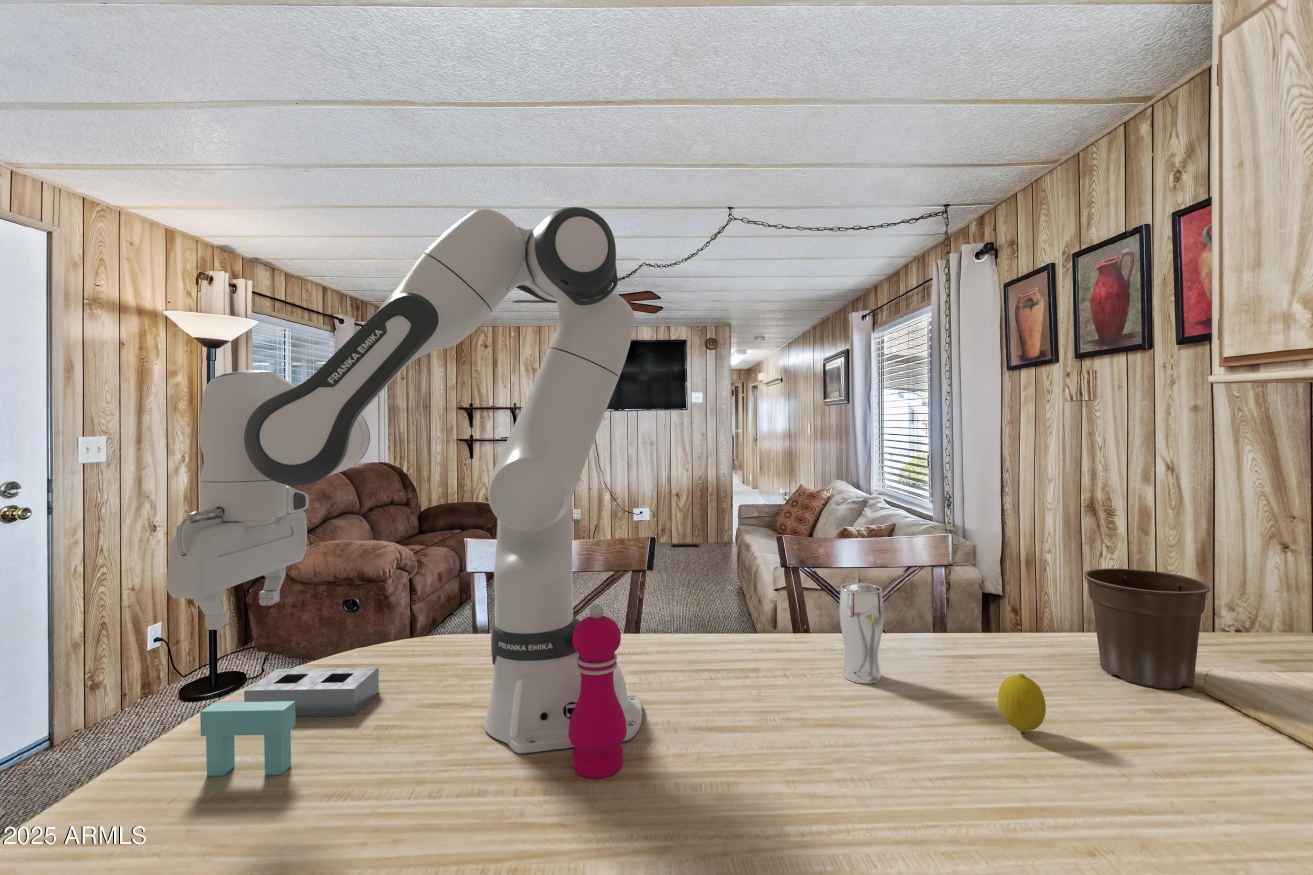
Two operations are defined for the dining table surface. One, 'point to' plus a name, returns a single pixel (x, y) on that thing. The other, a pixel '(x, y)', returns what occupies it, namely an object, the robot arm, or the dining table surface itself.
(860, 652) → the beer glass
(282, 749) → the teal arch block
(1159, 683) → the plant pot
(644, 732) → the dining table surface
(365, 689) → the slotted base block
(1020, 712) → the lemon
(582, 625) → the pepper mill
